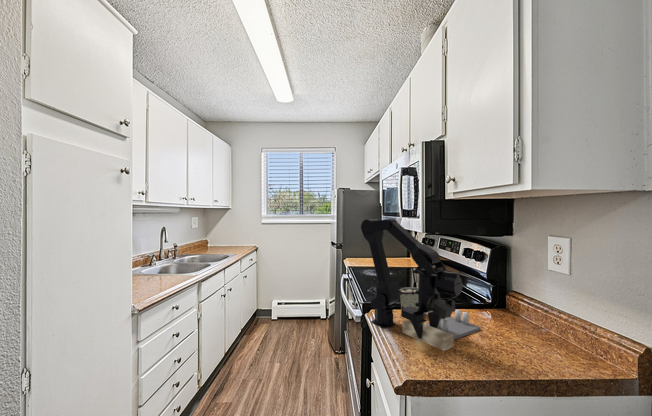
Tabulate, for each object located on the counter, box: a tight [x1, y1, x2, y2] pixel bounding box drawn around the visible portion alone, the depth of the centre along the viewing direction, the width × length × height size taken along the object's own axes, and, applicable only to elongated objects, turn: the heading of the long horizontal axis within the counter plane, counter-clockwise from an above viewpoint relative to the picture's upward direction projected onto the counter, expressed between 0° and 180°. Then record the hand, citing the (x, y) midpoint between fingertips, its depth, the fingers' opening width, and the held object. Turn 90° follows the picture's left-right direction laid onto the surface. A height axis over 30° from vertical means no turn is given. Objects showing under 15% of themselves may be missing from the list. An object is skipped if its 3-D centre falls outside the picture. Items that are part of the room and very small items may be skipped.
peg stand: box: [425, 309, 482, 341], centre depth 108 cm, size 12×16×5 cm
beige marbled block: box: [401, 319, 454, 352], centre depth 99 cm, size 16×5×4 cm, turn 35°
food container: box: [399, 286, 427, 317], centre depth 123 cm, size 12×6×10 cm, turn 84°
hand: (426, 336), depth 99 cm, fingers open, 6 cm apart
